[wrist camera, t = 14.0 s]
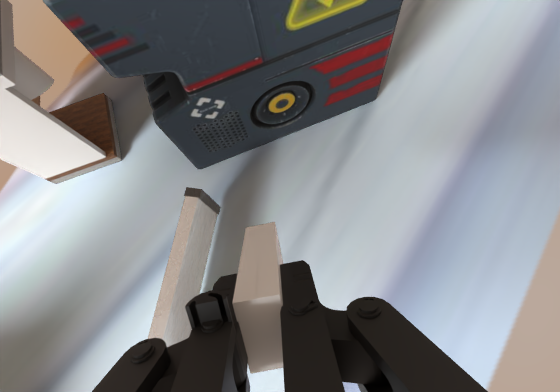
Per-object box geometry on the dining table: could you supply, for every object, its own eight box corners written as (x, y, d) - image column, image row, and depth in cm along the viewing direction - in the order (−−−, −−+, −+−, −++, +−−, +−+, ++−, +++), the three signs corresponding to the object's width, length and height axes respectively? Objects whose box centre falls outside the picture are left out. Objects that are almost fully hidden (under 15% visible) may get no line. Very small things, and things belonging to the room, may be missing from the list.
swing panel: (179, 386, 36) (147, 406, 29) (164, 383, 36) (129, 401, 29) (220, 207, 42) (201, 189, 35) (207, 205, 42) (186, 187, 35)
